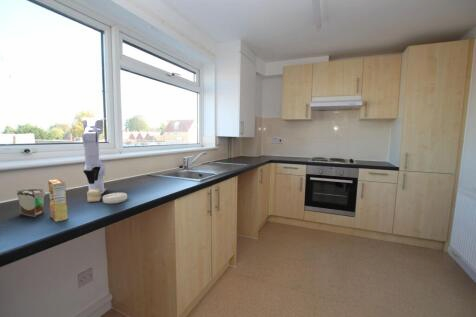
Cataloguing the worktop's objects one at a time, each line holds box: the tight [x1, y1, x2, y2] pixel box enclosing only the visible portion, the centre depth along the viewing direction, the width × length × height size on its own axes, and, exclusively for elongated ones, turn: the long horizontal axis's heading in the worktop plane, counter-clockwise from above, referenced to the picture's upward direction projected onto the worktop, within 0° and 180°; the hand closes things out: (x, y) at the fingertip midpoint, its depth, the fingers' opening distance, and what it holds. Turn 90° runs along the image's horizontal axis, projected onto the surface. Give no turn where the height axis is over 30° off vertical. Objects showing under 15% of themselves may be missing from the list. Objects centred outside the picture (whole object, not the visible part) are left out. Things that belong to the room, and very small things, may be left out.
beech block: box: [86, 189, 102, 203], centre depth 115 cm, size 5×5×5 cm
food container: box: [16, 188, 47, 218], centre depth 96 cm, size 12×6×10 cm, turn 71°
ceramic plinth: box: [102, 192, 128, 205], centre depth 115 cm, size 11×11×2 cm
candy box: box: [47, 178, 68, 223], centre depth 91 cm, size 9×4×15 cm, turn 50°
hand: (93, 182), depth 115 cm, fingers open, 7 cm apart
